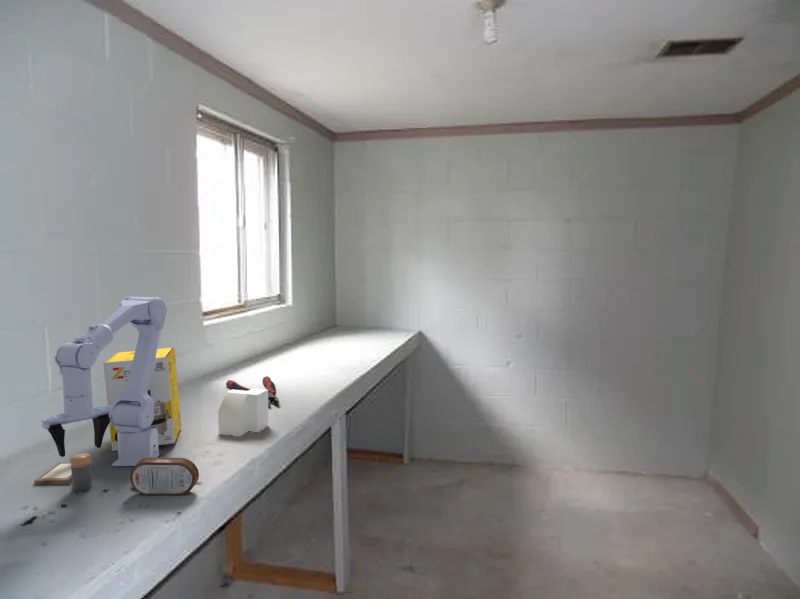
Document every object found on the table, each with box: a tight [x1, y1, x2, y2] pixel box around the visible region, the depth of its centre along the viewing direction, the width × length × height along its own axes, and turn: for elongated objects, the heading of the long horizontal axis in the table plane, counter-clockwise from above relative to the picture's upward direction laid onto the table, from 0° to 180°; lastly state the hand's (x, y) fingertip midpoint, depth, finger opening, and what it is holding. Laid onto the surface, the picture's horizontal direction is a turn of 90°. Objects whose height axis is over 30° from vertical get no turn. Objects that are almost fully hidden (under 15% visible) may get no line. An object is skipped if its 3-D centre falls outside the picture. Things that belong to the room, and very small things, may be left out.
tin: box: [129, 456, 200, 496], centre depth 128 cm, size 15×3×8 cm, turn 92°
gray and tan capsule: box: [70, 452, 93, 494], centre depth 130 cm, size 4×4×8 cm
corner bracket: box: [217, 387, 269, 437], centre depth 172 cm, size 11×11×12 cm
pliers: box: [225, 375, 280, 409], centre depth 213 cm, size 37×18×3 cm, turn 29°
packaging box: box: [103, 347, 182, 452], centre depth 162 cm, size 16×16×25 cm
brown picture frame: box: [33, 461, 72, 486], centre depth 138 cm, size 8×11×1 cm
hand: (80, 451), depth 129 cm, fingers open, 7 cm apart
